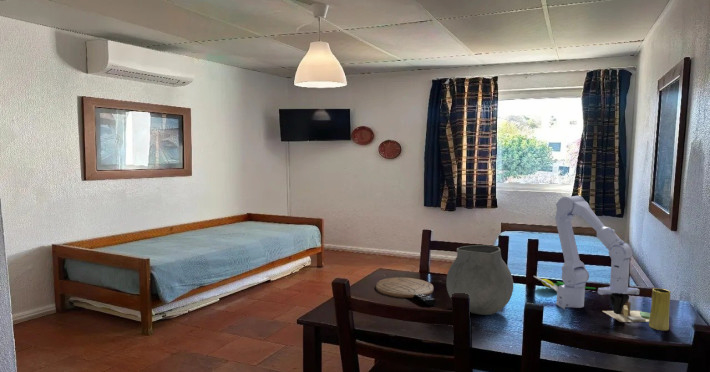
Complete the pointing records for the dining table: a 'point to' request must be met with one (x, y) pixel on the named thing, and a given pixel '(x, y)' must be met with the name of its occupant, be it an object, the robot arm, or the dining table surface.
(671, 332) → the dining table surface
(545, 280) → the decorative flower
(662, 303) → the vase
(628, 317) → the tuner board
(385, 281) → the trivet
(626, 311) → the knob
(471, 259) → the ceramic pot
